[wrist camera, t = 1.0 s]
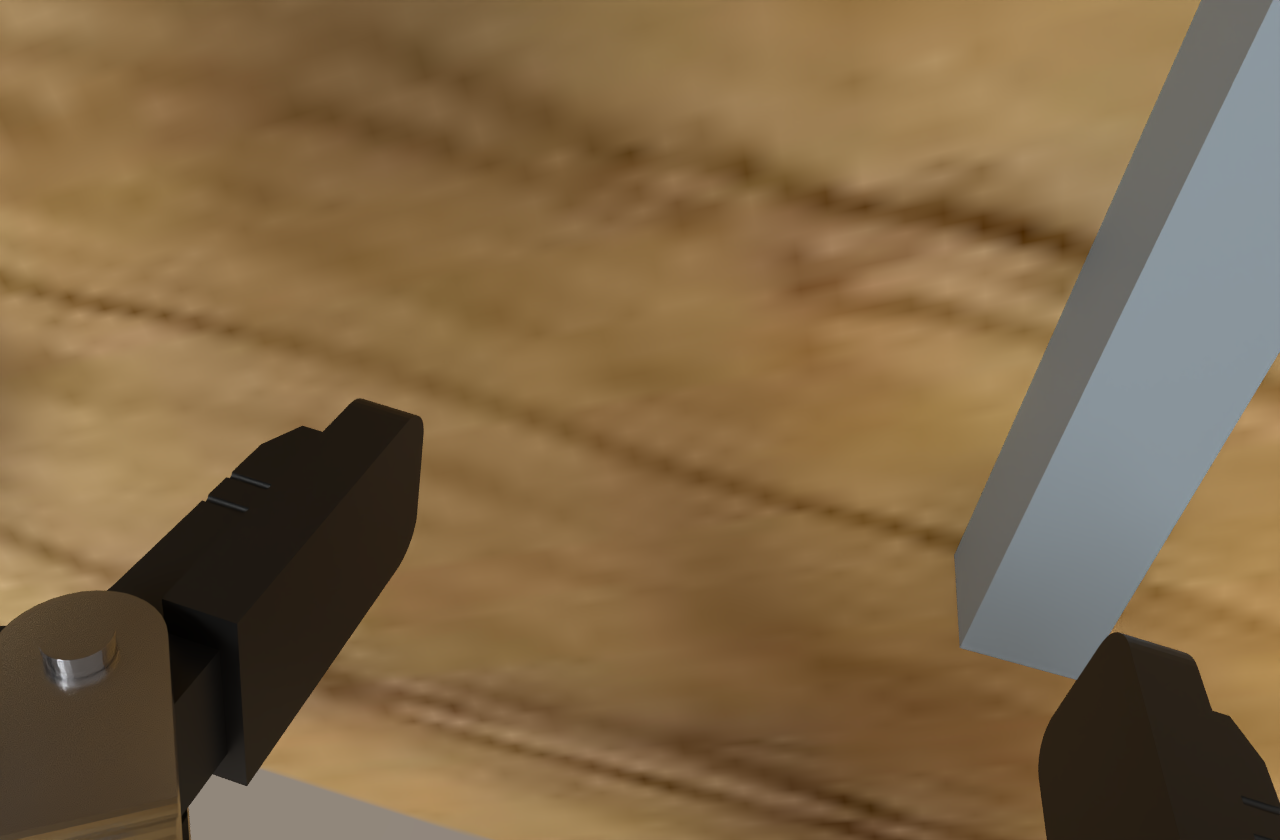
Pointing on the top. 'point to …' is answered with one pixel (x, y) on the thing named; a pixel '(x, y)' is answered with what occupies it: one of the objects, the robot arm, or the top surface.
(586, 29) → the top surface
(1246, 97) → the rail
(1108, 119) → the top surface
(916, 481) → the top surface
